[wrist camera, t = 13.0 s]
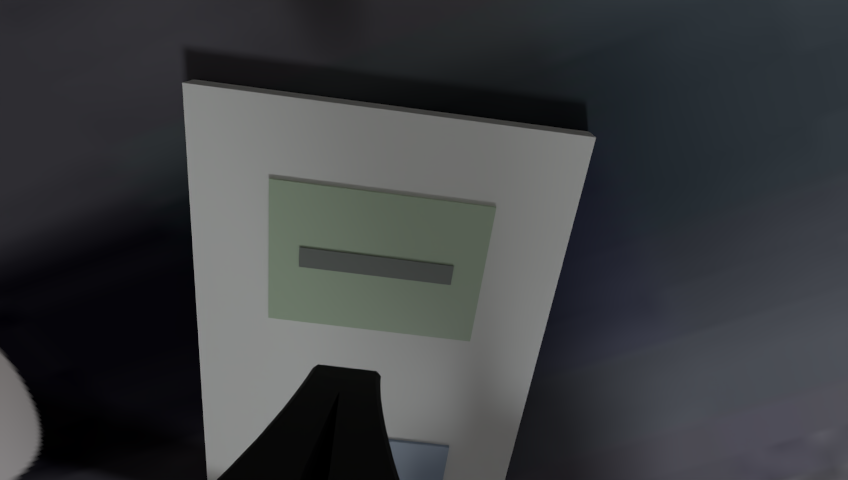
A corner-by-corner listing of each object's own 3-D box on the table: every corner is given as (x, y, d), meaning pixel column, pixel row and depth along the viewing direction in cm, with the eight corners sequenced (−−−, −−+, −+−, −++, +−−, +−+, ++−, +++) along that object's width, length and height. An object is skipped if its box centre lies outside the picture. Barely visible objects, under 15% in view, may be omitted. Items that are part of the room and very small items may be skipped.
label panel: (588, 131, 16) (597, 138, 15) (466, 604, 25) (467, 625, 24) (194, 79, 15) (179, 83, 14) (221, 579, 25) (213, 601, 24)
